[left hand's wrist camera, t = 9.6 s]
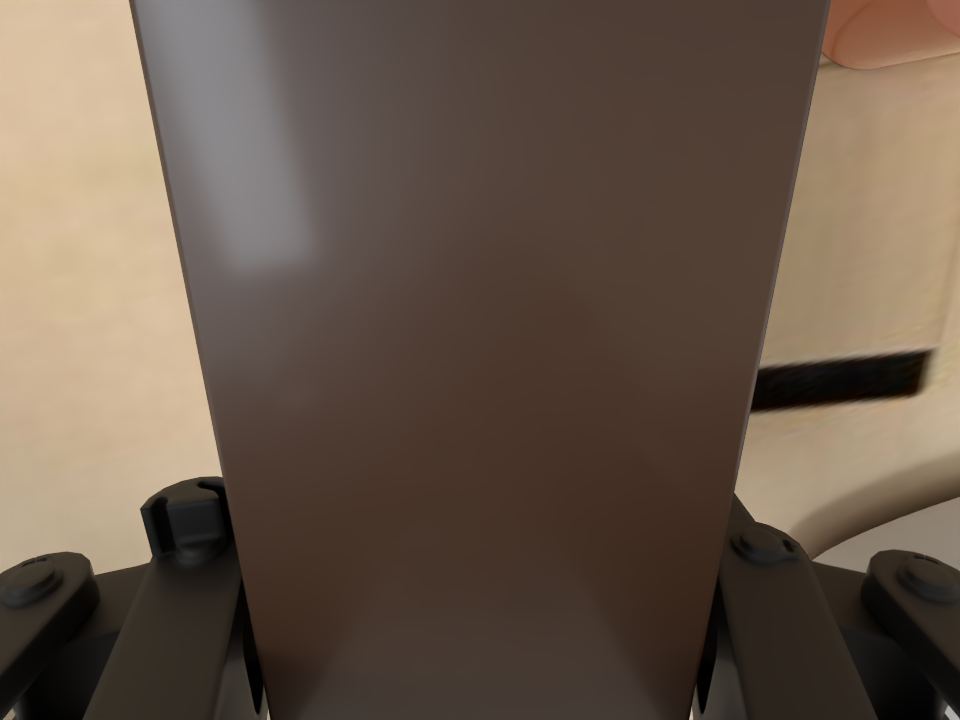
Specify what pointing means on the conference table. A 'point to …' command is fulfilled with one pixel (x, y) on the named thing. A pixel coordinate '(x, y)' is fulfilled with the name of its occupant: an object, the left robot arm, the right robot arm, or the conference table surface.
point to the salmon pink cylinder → (890, 31)
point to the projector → (905, 542)
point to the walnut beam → (479, 329)
